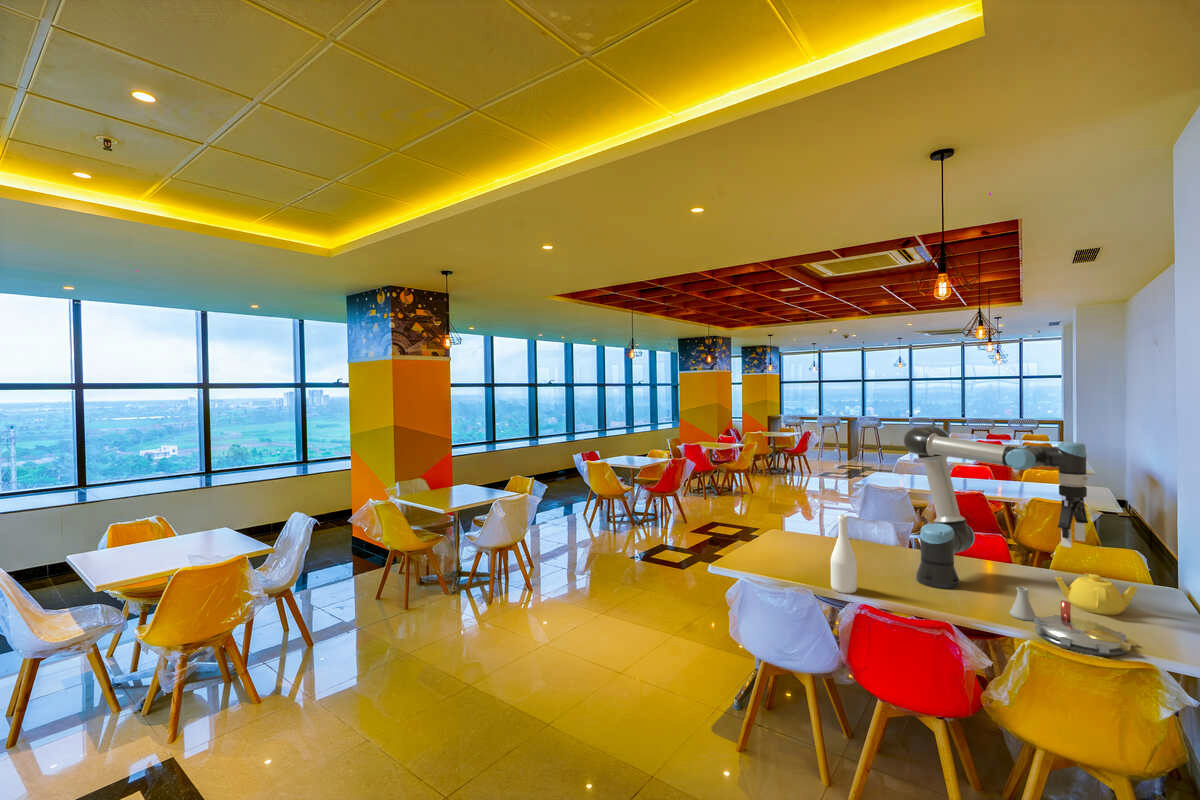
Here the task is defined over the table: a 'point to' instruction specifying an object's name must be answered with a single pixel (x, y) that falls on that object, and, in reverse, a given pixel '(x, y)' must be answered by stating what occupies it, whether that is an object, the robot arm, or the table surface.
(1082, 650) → the base
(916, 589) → the table surface
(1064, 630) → the turntable
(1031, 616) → the flask
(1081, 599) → the teapot
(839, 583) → the wine bottle
